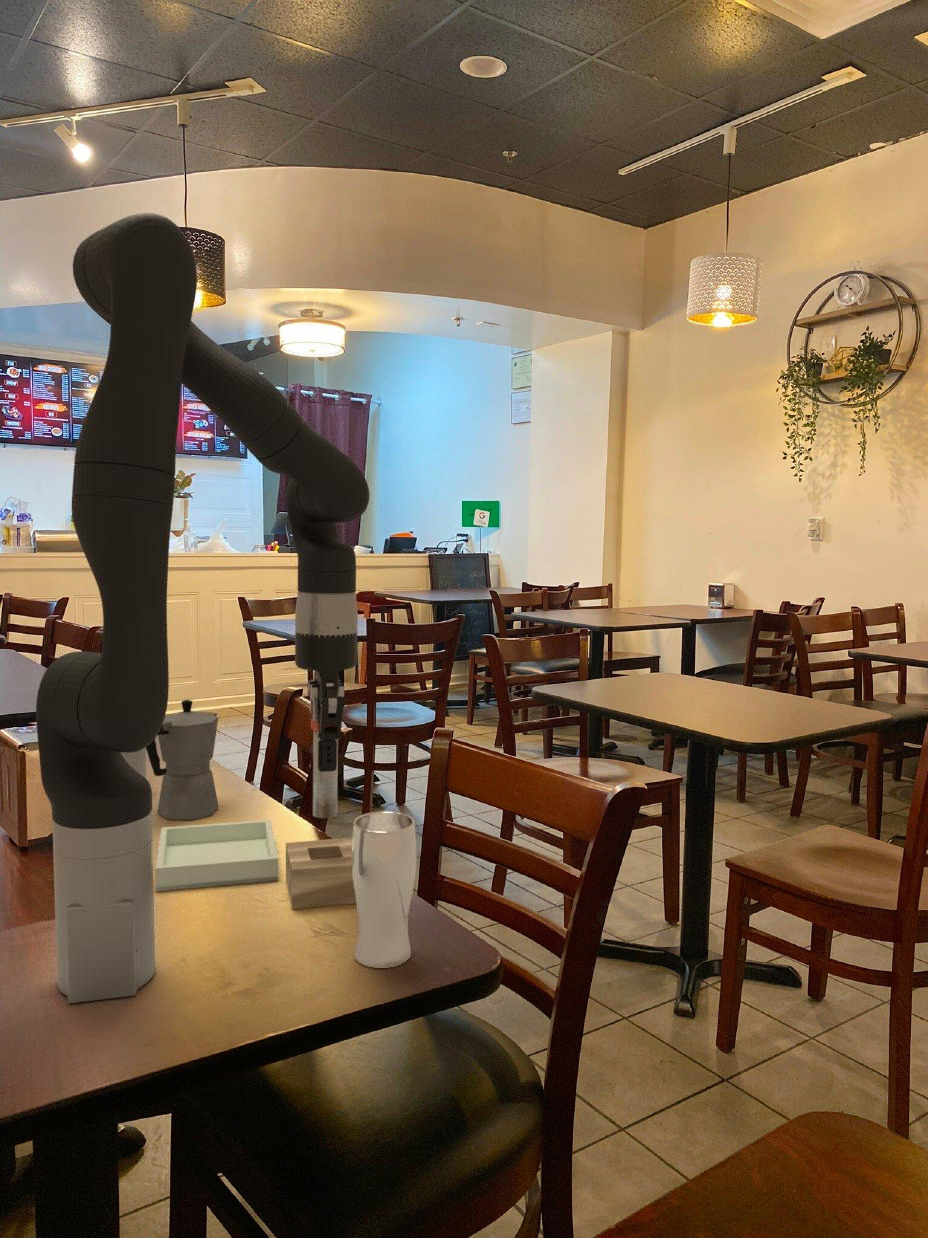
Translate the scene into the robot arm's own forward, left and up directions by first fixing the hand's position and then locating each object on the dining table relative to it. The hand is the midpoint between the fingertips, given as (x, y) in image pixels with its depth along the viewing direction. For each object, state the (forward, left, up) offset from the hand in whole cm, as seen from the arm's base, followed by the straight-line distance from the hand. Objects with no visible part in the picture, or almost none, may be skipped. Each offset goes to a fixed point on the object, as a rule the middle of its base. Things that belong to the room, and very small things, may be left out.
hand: (325, 766), depth 110 cm
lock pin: (0, 0, -6) cm, 6 cm away
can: (+45, +28, -16) cm, 56 cm away
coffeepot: (+34, +18, -16) cm, 42 cm away
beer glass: (-18, -4, -16) cm, 25 cm away
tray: (+12, +13, -16) cm, 24 cm away
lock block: (0, 0, -16) cm, 16 cm away
